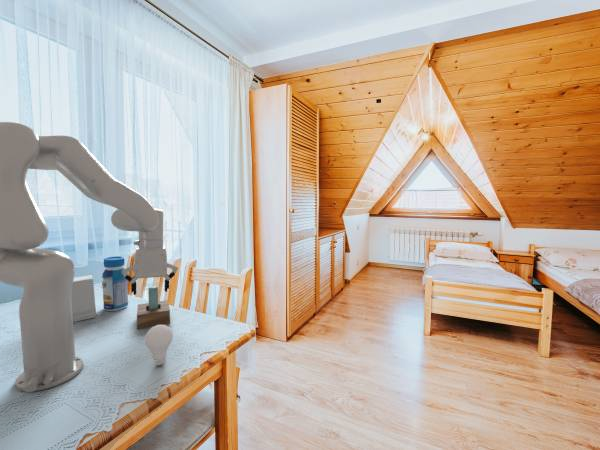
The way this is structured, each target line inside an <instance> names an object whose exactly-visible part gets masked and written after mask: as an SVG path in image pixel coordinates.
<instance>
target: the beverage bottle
mask: <svg viewBox="0 0 600 450" xmlns="http://www.w3.org/2000/svg"><path fill="white" fill-rule="evenodd" d="M124 266H125V257H124V256H109V257H106V258H103V268H105V269H104V271H103V272H102V276H101V278H102V281H101V285H102V299H103V301H102V302H103V310H104V311H106V312H107V311H108V312H115V311H121V310H123V309H126V308H127V307H128V306H129V298H128V297H129V294H128V292H129V291H128V282H129V281H128V280H127V279H125V277H124V275H123V274H122V270H124V269H125V268H124Z"/></svg>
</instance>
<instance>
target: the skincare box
mask: <svg viewBox="0 0 600 450" xmlns="http://www.w3.org/2000/svg"><path fill="white" fill-rule="evenodd" d="M95 299H96V298H95V286H94V277H93V275H92V274H89V275H82V276H74V279H73V284H72V313H73V323H77V322H79V321H80V322H81V321H83V320H89V319H94V318H96V317H97V311H96V310H97V309H96V300H95Z"/></svg>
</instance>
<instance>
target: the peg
mask: <svg viewBox="0 0 600 450" xmlns="http://www.w3.org/2000/svg"><path fill="white" fill-rule="evenodd" d="M147 289H148V303H149V310H155V309H158V302H159V287H158V286H155V285H154V286H153V285H152V286H149V287H148V288H147Z"/></svg>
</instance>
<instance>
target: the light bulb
mask: <svg viewBox="0 0 600 450" xmlns="http://www.w3.org/2000/svg"><path fill="white" fill-rule="evenodd" d="M173 338H174V336H173V331H172V329H171V328H170V327H169V325H167V324H166V325H156V326H154V327H150V328H149V330H148V331H147V332H146V335H145V337H144V344H145V346H146V348H147V349H148V350H149V351H150V353H151V356H152V358H153V365H154V366H157V367H160V366H163V365H164V364H166V360H167V359H166V357H167V353H168V349H169V347H170V345H171V343H172V341H173Z"/></svg>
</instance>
